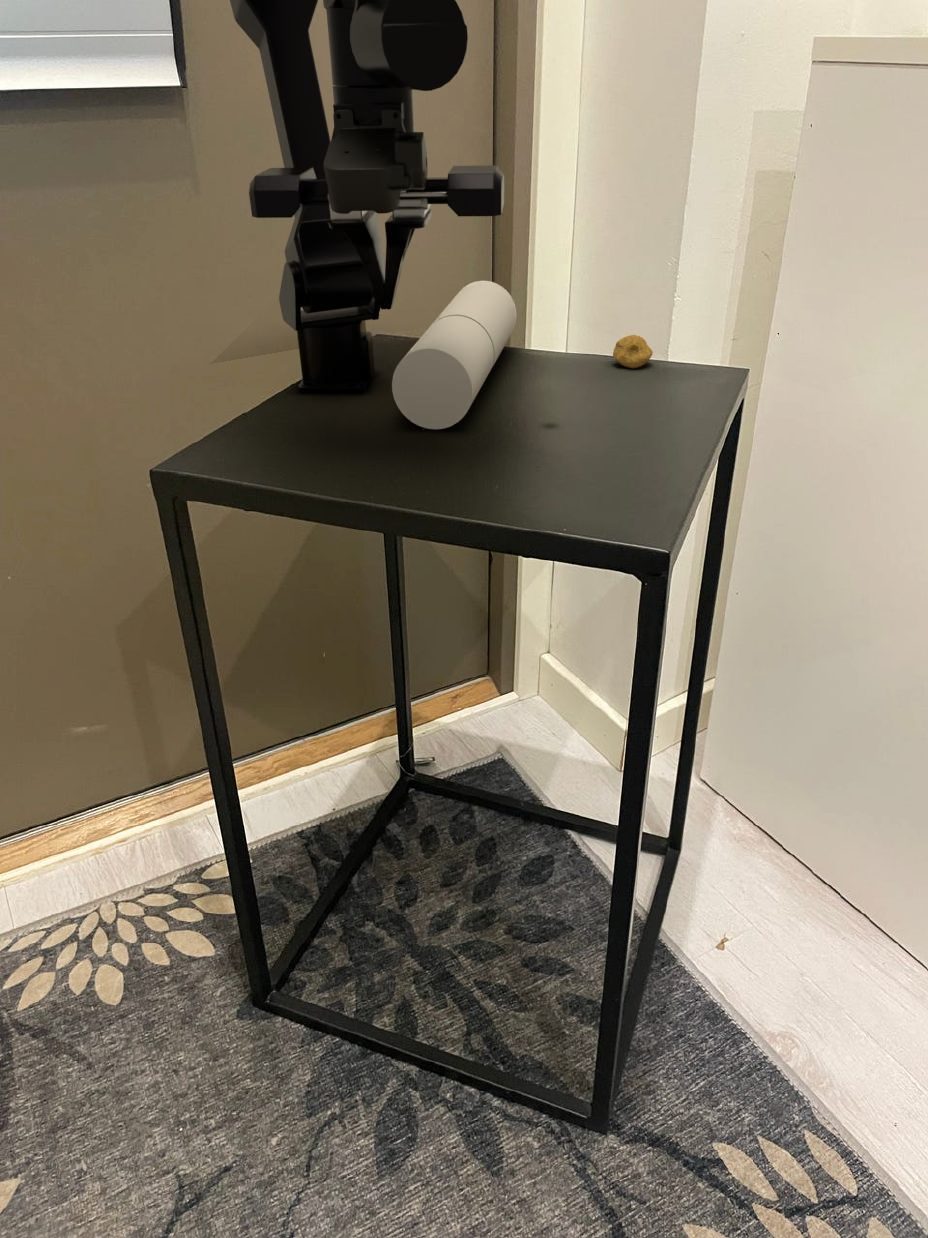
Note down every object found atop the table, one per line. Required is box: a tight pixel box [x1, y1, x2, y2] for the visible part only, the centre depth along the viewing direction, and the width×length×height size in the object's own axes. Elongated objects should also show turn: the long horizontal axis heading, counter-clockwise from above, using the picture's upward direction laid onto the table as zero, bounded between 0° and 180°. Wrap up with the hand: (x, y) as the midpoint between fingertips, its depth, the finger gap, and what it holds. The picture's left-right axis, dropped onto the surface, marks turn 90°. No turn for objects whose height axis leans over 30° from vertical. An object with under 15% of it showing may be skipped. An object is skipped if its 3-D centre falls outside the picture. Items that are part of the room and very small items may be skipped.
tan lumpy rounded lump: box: [612, 334, 654, 369], centre depth 95 cm, size 4×4×3 cm
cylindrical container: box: [391, 280, 518, 430], centre depth 90 cm, size 7×7×25 cm
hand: (386, 308), depth 74 cm, fingers closed
